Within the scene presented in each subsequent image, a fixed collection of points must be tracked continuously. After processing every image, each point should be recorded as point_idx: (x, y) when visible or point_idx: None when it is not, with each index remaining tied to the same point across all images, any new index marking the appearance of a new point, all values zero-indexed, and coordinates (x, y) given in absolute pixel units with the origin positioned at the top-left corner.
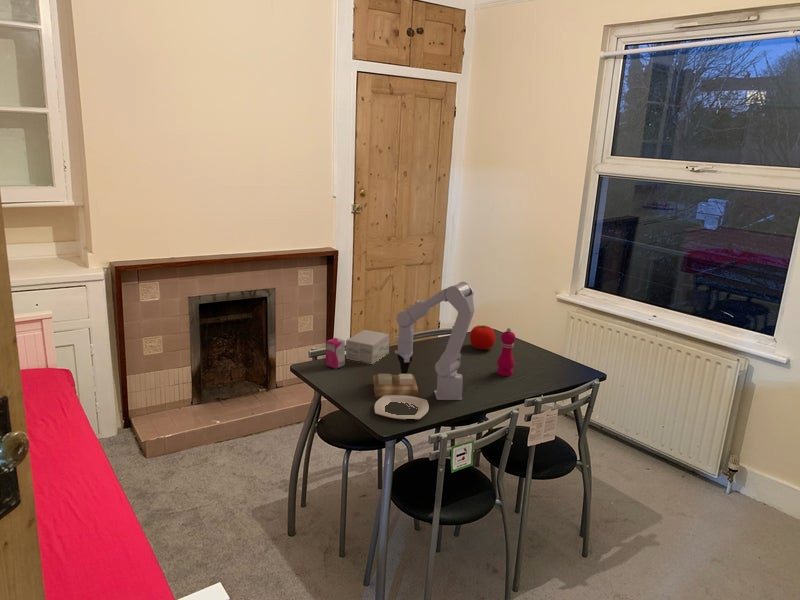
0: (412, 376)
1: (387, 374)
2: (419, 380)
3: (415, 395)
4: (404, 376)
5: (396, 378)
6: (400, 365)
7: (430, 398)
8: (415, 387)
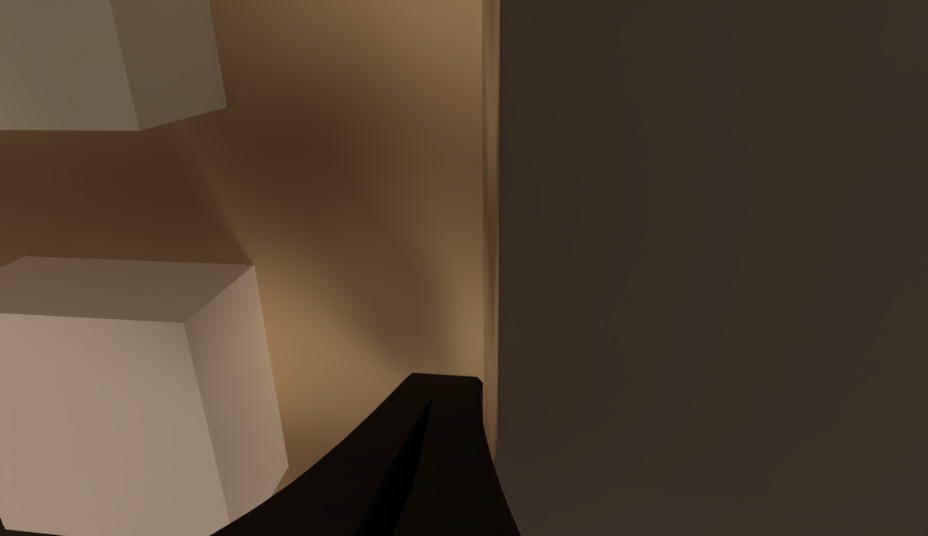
0: None
1: (59, 20)
2: (601, 519)
3: None
4: (65, 413)
5: (303, 233)
6: (297, 486)
7: None
8: None
